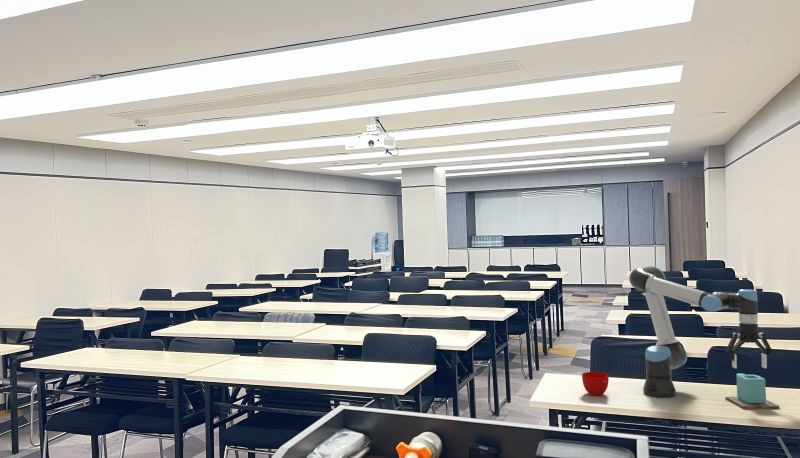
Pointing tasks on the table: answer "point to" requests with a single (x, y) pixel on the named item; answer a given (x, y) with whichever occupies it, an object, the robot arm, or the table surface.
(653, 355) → the robot arm
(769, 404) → the board
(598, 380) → the ceramic cup
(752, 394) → the teal open-top box
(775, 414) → the table surface
